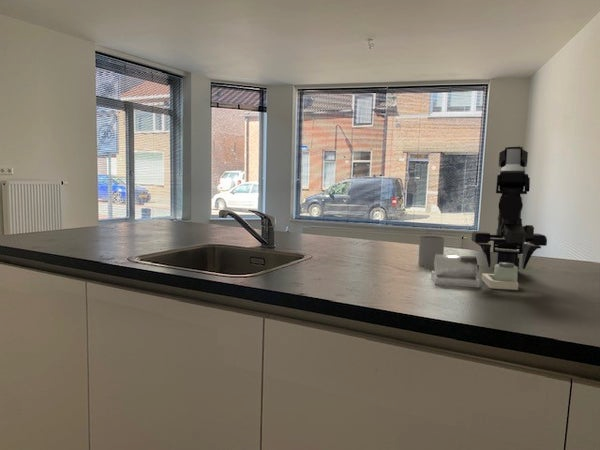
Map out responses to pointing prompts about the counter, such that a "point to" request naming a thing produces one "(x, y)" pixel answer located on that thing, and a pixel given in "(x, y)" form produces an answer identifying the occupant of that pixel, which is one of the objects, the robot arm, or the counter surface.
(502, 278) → the frosted cube with recess
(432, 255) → the cup
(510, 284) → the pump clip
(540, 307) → the counter surface
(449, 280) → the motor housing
